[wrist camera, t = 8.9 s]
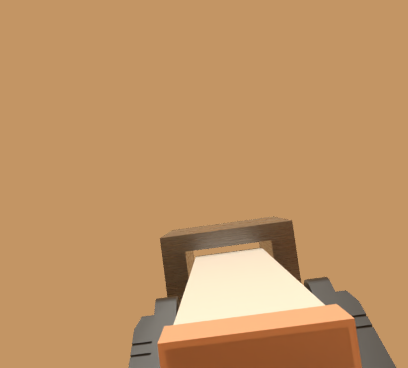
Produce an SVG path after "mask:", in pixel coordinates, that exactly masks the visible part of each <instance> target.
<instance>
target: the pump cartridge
mask: <svg viewBox="0 0 408 368" xmlns="http://www.w3.org/2000/svg"><path fill="white" fill-rule="evenodd" d="M157 345H158V353H159V361H160V368H362V364H361V358H360V351H359V345H358V338H357V332H356V325H355V319H354V318H353V317H352V316H351V315H350V314H348V313H347V312H346V311H345V310H344V309H342V308H341V307H340V306H339V305H337V304H332V305H324V304H323V303H322V302H321V301H320V300H319V299H318V298H317V297H316V296H315V295H313V294H312V293H311V292H310V291H309V290H308V289H307V288H306V287H305V286H303V285H302V284H301V283H300V282H299V281H298V280H297V279H296V278H295V277H293V276H292V275H291V274H290V273H289V272H288V271H287V270H286V269H285V268H284V267H282V266H281V265H280V264H279V263H278V262H277V261H276V260H275V259H274V258H272V257H271V256H270V255H269V254H268V253H267V252H266V251H265V250H264V249H262V248H255V249H248V250H240V251H233V252H225V253H218V254H211V255H203V256H197V257H196V258H195V261H194V264H193V267H192V270H191V273H190V276H189V279H188V282H187V285H186V288H185V291H184V294H183V297H182V300H181V303H180V306H179V309H178V312H177V315H176V318H175V321H174V324H173V325H170V326H164V328H163V331H162V333H161V336H160V338H159V341H158V343H157Z"/></svg>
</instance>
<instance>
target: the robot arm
mask: <svg viewBox="0 0 408 368" xmlns="http://www.w3.org/2000/svg"><path fill="white" fill-rule="evenodd" d="M304 286H305V287H306V288H307V289H308V290H309V291H310V292H311V293H312V294H313V295H315V296H316V297H317V298H318V299H319V300H320V301H321V302H322V303H323V304H324V305H332V304H337V305H339V306H340V307H341V308H342V309H344V310H345V311H346V312H347V313H348V314H350V315H351V316H352V317H353V318H354V319H355V325H356V332H357V338H358V345H359V351H360V358H361V364H362V368H396V367H395V365H394V363H393V361H392V359H391V358H390V356H389V354H388V352H387V351H386V349H385V347H384V345H383V344H382V342H381V340H380V338H379V336H378V335H377V333H376V331H375V329H374V328H373V327H372V324H371V322H370V320H369V319H368V317H367V316H366V313H365V312H364V310H363V308H362V306H361V304H360V303H359V301H358V300H357V299H356V298H354V297H353V296H352V295H351V294H350V293H348V292H347V291H339V292H335V290H334V289H333V287H332V284H331V283H330V281H329V279H328V278H327V277H322V278H315V279H307V280H305V281H304ZM179 306H180V303H179V299H178V296H174V297H167V298H159V299H156V303H155V313H154V315H152V316H145V317H142V318H141V320H140V321H139V323H138V324H137V326H136V328H135V329H134V335H133V342H132V349H131V358H130V362H129V368H160V361H159V353H158V345H157V343H158V341H159V338H160V336H161V333H162V331H163V328H164V326H170V325H173V324H174V321H175V318H176V315H177V312H178V309H179Z"/></svg>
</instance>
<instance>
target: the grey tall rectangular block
mask: <svg viewBox="0 0 408 368" xmlns="http://www.w3.org/2000/svg"><path fill="white" fill-rule="evenodd" d="M160 242H161V250H162V257H163V265H164V273H165V281H166V289H167V297H174V296H178V299H179V303H181V300H182V297H183V294H184V291H185V288H186V285H187V282H188V279H189V276H190V273H191V270H192V267H193V264H194V254H193V251H194V250H201V249H209V248H216V247H224V246H231V245H239V244H246V243H253V242H259V244H260V248H262V249H264V250H265V251H266V252H267V253H268V254H269V255H270V256H271V257H272V258H274V259H275V260H276V261H277V262H278V263H279V264H280V265H281V266H282V267H284V268H285V269H286V270H287V271H288V272H289V273H290V274H291V275H292V276H293V277H295V278H296V279H297V280H298V281H299V282H300V283H301V278H300V272H299V266H298V258H297V252H296V244H295V238H294V231H293V224H292V220H287V219H282V218H278V217H268V218H260V219H253V220H245V221H238V222H231V223H223V224H216V225H208V226H201V227H193V228H186V229H178V230H172V231H171V232H169V233H167V234H166V235H164V236H163V237H161V238H160Z"/></svg>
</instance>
